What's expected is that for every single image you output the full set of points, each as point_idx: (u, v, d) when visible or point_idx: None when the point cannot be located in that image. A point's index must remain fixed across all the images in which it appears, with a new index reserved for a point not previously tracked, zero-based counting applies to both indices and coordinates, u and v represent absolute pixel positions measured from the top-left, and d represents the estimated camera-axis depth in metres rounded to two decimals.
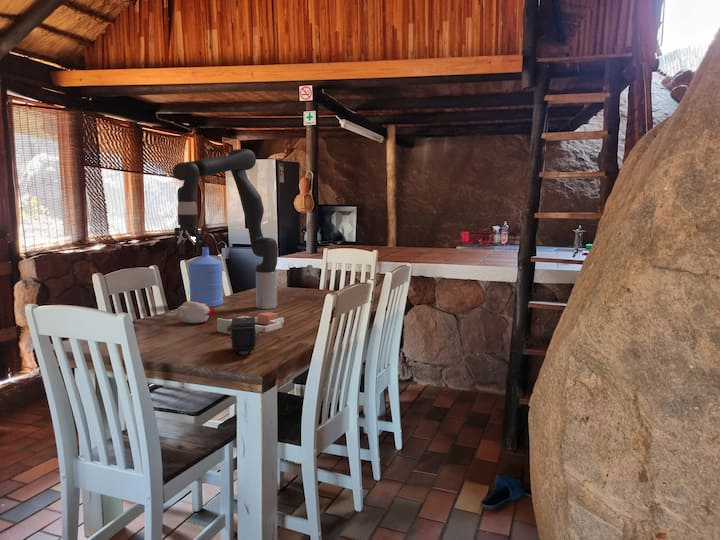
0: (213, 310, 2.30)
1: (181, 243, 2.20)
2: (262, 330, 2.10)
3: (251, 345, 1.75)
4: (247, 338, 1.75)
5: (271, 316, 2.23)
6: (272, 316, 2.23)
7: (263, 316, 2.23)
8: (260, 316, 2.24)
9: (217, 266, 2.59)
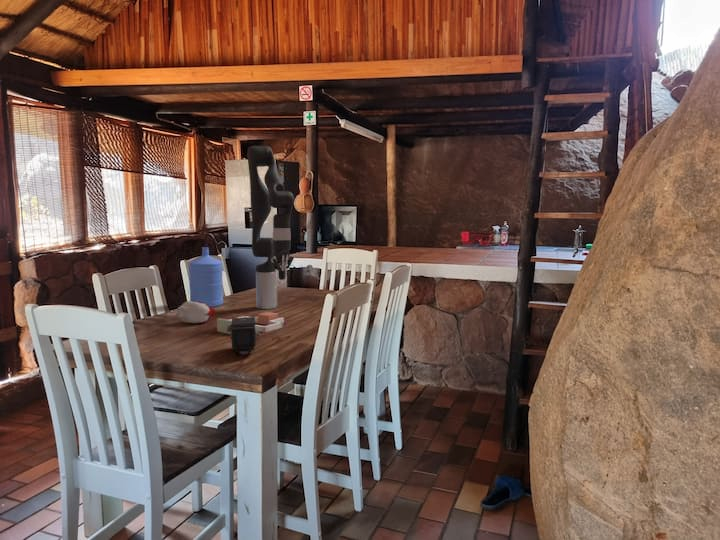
0: (213, 310, 2.30)
1: None
2: (262, 330, 2.10)
3: (251, 345, 1.75)
4: (247, 338, 1.75)
5: (271, 316, 2.23)
6: (272, 316, 2.24)
7: (263, 316, 2.23)
8: (260, 316, 2.24)
9: (217, 266, 2.59)
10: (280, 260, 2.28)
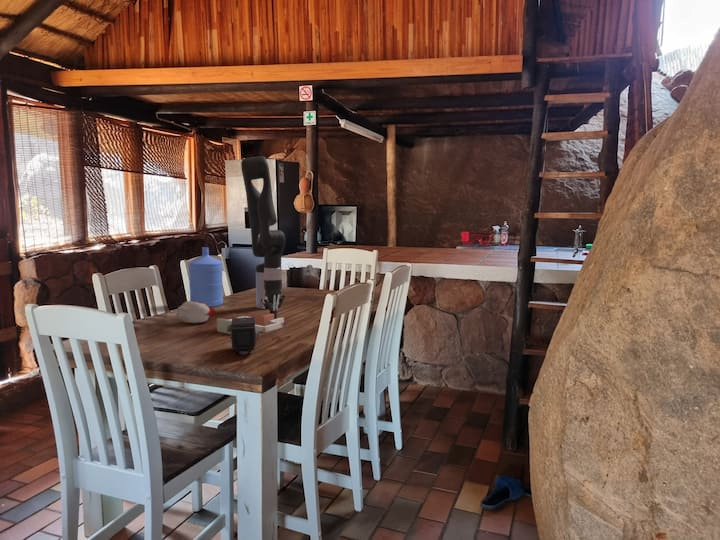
0: (213, 310, 2.30)
1: None
2: (262, 330, 2.10)
3: (251, 345, 1.75)
4: (247, 338, 1.75)
5: (267, 316, 2.21)
6: (268, 316, 2.22)
7: (259, 317, 2.21)
8: (256, 317, 2.22)
9: (217, 266, 2.59)
10: (271, 300, 2.25)
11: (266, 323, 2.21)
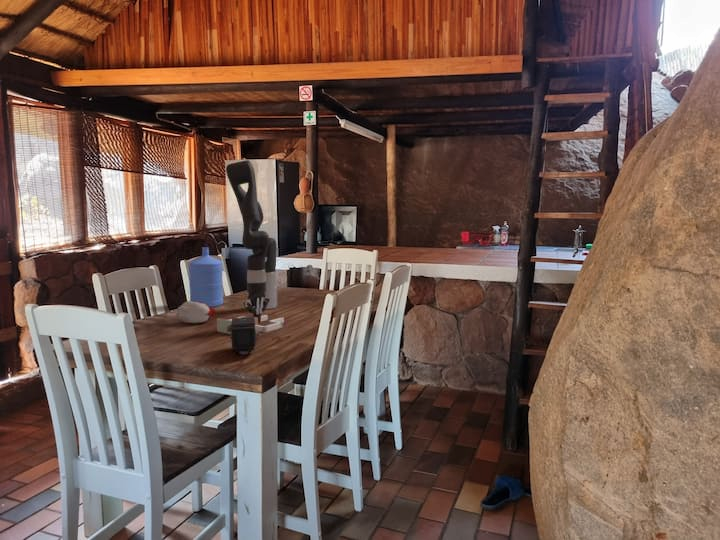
0: (213, 310, 2.30)
1: None
2: (262, 330, 2.10)
3: (251, 345, 1.75)
4: (247, 338, 1.75)
5: None
6: None
7: None
8: None
9: (217, 266, 2.59)
10: (255, 303, 2.17)
11: None
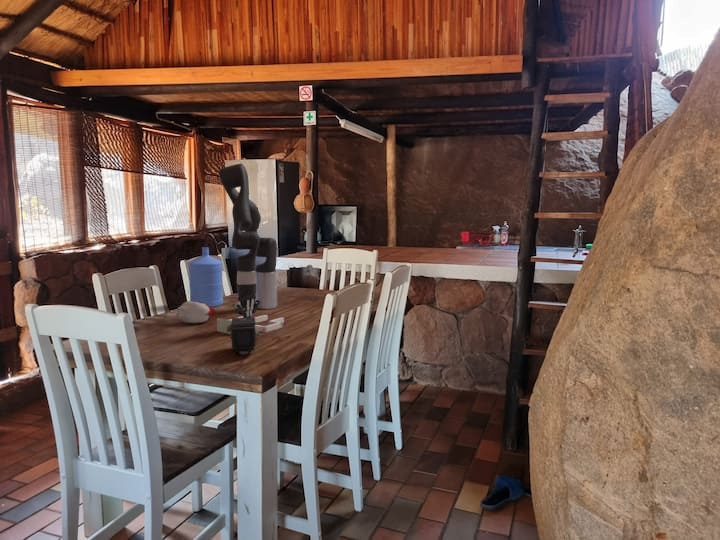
0: (213, 310, 2.30)
1: None
2: (262, 330, 2.10)
3: (251, 345, 1.75)
4: (247, 338, 1.75)
5: None
6: None
7: None
8: None
9: (217, 266, 2.59)
10: (245, 305, 2.12)
11: None
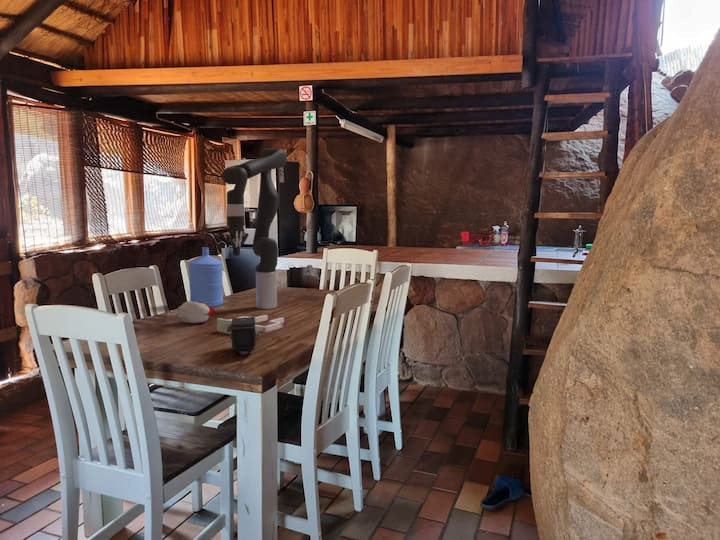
0: (213, 310, 2.30)
1: None
2: (262, 330, 2.10)
3: (251, 345, 1.75)
4: (247, 338, 1.75)
5: None
6: None
7: None
8: None
9: (217, 266, 2.59)
10: (234, 236, 2.29)
11: None
